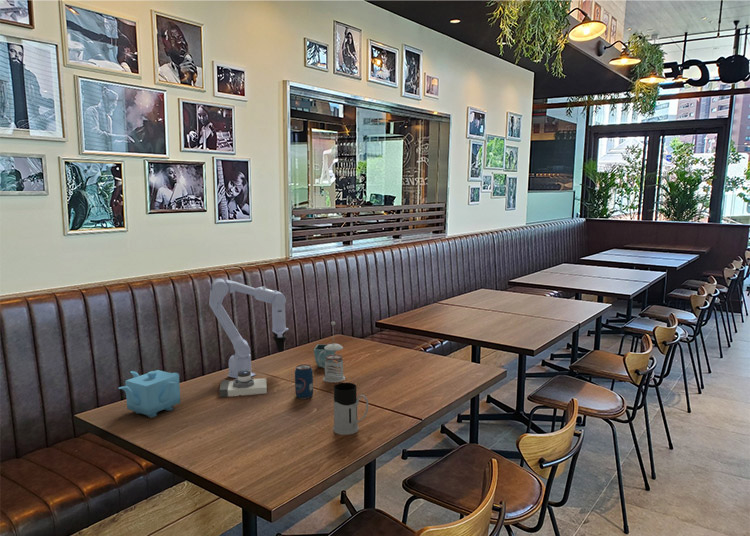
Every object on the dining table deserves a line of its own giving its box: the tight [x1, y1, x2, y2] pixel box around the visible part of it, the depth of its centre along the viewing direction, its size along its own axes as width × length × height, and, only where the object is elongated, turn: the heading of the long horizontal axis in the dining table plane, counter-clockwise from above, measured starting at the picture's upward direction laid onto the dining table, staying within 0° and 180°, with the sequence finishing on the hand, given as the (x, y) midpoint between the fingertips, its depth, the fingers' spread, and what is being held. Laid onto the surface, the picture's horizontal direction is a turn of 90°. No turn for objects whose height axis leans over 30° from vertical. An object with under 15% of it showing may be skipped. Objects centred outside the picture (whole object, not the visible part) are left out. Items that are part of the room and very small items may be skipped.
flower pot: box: [313, 343, 336, 368], centre depth 249 cm, size 9×9×9 cm
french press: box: [318, 321, 346, 383], centre depth 231 cm, size 10×12×25 cm
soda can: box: [294, 363, 314, 400], centre depth 212 cm, size 7×7×12 cm
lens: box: [238, 370, 252, 384], centre depth 219 cm, size 5×5×5 cm
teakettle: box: [117, 369, 182, 418], centre depth 199 cm, size 19×19×15 cm
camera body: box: [219, 377, 268, 398], centre depth 219 cm, size 18×11×4 cm, turn 102°
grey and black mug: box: [332, 382, 369, 436], centre depth 180 cm, size 9×14×15 cm, turn 51°
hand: (279, 349), depth 241 cm, fingers open, 7 cm apart
